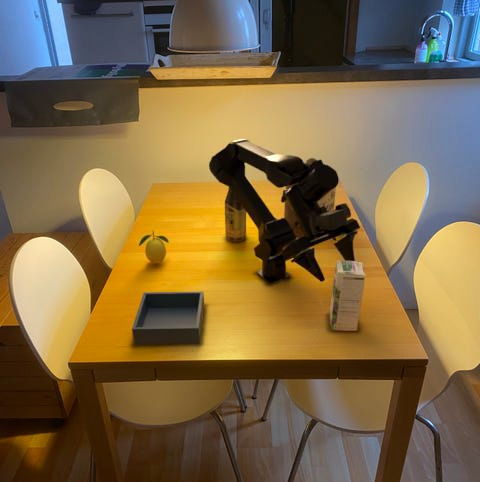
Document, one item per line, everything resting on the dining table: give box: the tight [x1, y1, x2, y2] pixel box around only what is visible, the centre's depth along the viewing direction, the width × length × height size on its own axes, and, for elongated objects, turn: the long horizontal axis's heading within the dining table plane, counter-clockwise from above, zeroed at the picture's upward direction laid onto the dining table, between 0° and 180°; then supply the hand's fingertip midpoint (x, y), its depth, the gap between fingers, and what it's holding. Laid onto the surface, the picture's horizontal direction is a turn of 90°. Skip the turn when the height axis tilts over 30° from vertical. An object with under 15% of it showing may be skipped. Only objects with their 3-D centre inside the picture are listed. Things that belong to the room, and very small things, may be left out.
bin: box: [131, 291, 205, 346], centre depth 105 cm, size 14×14×4 cm
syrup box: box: [329, 260, 366, 332], centre depth 101 cm, size 6×6×14 cm
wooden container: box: [283, 157, 337, 239], centre depth 140 cm, size 15×15×22 cm
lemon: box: [138, 230, 170, 264], centre depth 127 cm, size 7×6×10 cm
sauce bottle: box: [224, 187, 247, 243], centre depth 136 cm, size 7×6×20 cm
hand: (338, 274), depth 102 cm, fingers open, 9 cm apart
